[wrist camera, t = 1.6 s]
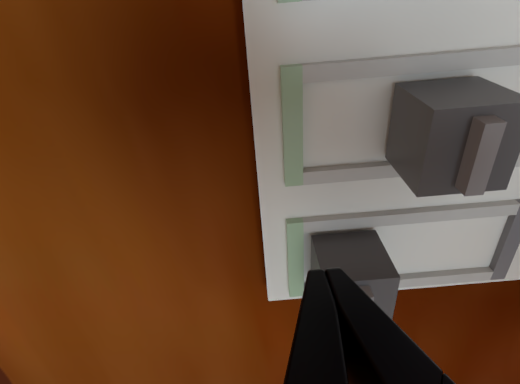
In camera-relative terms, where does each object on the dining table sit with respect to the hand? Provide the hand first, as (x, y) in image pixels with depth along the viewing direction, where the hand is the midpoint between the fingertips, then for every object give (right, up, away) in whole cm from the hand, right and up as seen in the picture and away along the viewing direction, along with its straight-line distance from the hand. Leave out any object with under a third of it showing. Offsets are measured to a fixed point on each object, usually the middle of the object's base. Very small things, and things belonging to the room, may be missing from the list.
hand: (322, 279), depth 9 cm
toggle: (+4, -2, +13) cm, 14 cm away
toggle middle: (+7, +6, +9) cm, 13 cm away
